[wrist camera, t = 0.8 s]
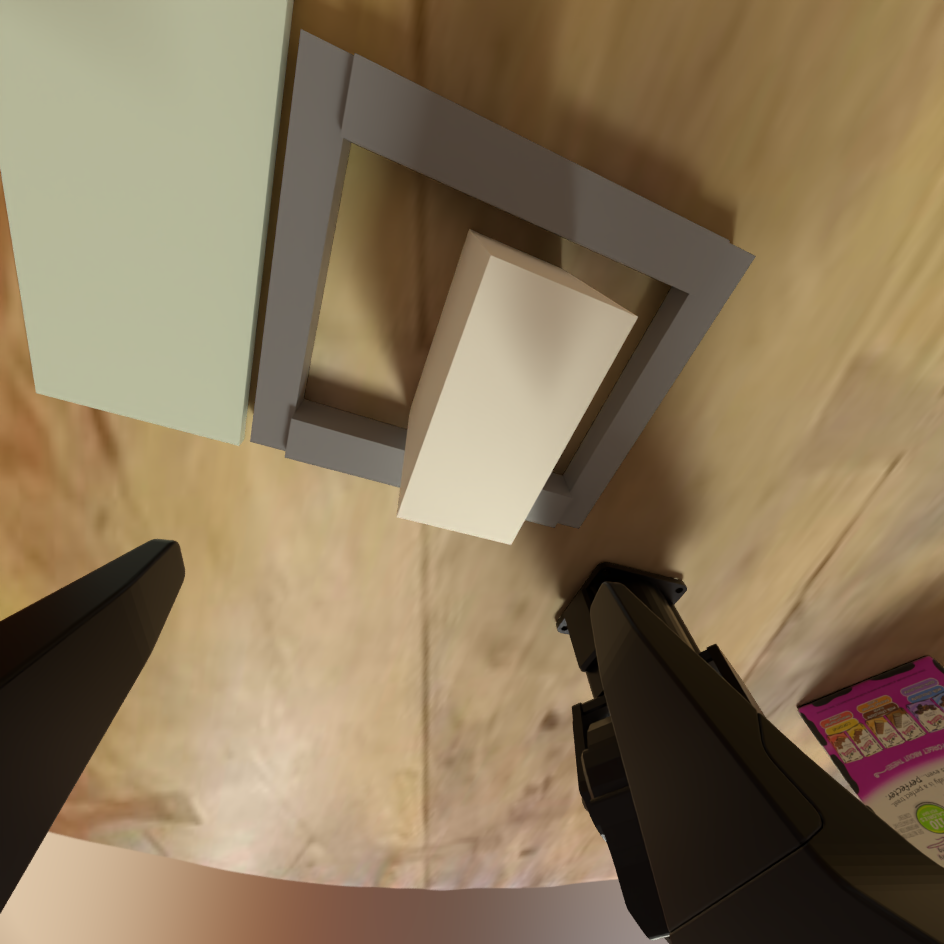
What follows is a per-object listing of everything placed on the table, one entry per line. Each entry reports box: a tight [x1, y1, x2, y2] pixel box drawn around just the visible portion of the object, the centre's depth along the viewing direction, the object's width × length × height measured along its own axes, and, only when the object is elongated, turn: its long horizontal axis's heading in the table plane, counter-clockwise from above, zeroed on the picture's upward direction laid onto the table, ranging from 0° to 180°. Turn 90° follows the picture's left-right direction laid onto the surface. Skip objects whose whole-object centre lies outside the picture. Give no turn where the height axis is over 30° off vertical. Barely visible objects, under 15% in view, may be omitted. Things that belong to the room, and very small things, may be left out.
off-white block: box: [397, 229, 638, 545], centre depth 16 cm, size 4×8×8 cm, turn 159°
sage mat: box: [0, 0, 294, 446], centre depth 15 cm, size 8×16×1 cm, turn 159°
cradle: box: [250, 29, 756, 529], centre depth 18 cm, size 17×14×2 cm
